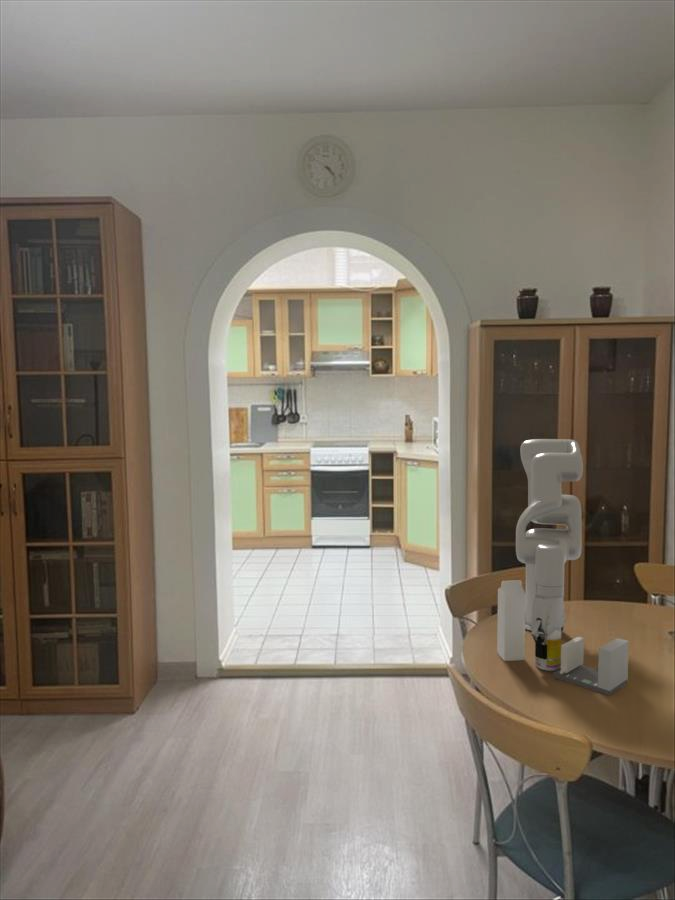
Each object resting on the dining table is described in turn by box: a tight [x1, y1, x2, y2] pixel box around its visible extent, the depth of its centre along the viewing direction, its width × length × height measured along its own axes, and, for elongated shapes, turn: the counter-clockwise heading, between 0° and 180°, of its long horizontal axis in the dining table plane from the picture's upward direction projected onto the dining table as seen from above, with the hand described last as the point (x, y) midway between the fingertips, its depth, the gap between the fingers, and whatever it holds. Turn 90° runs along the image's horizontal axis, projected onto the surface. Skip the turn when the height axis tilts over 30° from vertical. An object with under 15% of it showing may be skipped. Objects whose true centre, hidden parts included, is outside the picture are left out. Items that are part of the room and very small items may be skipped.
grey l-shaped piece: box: [553, 637, 630, 697], centre depth 172 cm, size 15×10×11 cm, turn 43°
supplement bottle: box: [534, 625, 562, 672], centre depth 181 cm, size 7×7×13 cm
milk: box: [496, 579, 526, 662], centre depth 188 cm, size 6×6×22 cm
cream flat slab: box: [560, 636, 585, 674], centre depth 175 cm, size 2×10×7 cm, turn 133°
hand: (548, 653), depth 181 cm, fingers closed on supplement bottle, 6 cm apart
